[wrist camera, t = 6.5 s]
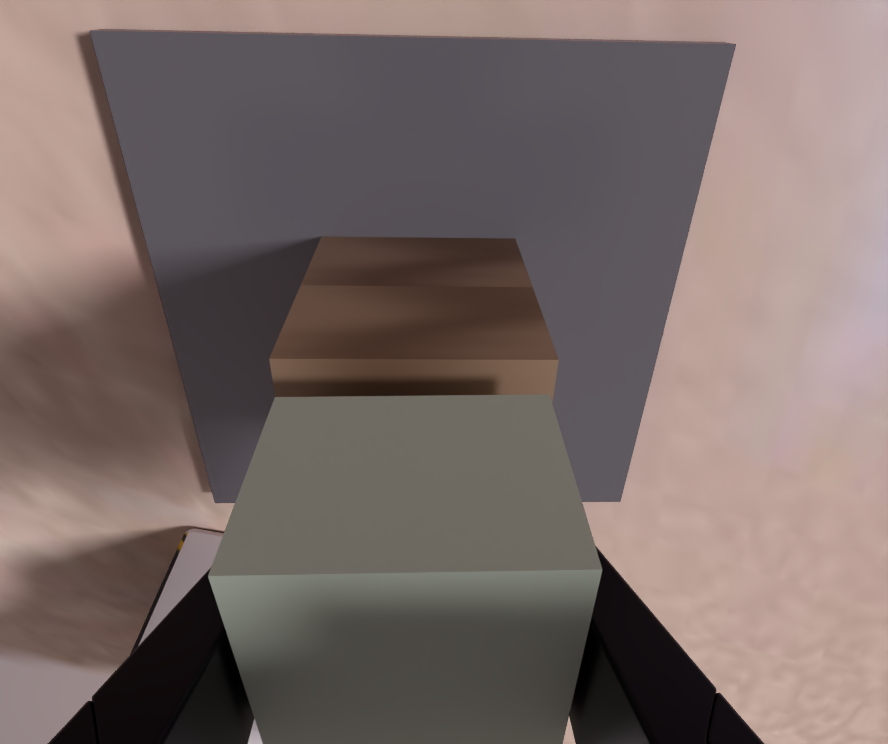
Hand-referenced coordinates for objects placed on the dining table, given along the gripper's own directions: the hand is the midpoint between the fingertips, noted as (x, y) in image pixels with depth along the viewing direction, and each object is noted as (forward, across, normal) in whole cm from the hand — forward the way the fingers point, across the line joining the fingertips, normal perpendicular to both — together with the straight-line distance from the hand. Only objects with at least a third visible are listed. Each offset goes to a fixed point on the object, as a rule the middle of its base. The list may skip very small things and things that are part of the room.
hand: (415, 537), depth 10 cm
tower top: (+5, 0, 0) cm, 5 cm away
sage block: (+1, 0, 0) cm, 1 cm away
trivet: (+8, 0, 0) cm, 8 cm away
